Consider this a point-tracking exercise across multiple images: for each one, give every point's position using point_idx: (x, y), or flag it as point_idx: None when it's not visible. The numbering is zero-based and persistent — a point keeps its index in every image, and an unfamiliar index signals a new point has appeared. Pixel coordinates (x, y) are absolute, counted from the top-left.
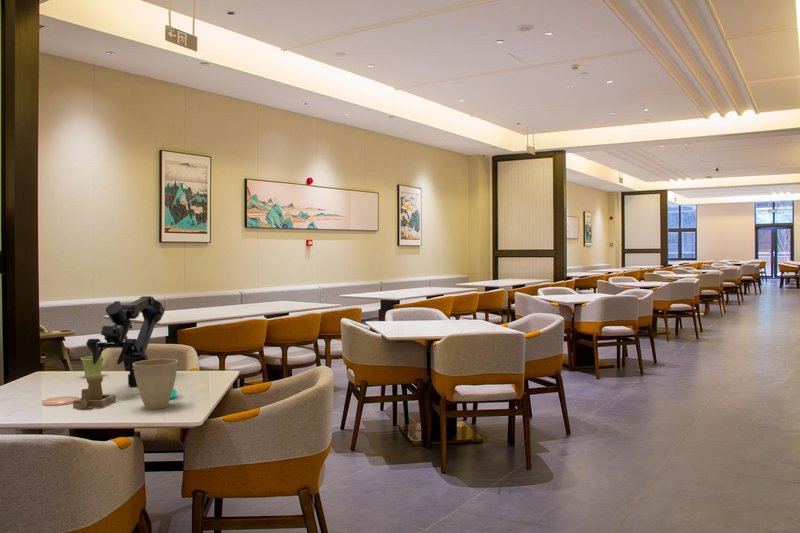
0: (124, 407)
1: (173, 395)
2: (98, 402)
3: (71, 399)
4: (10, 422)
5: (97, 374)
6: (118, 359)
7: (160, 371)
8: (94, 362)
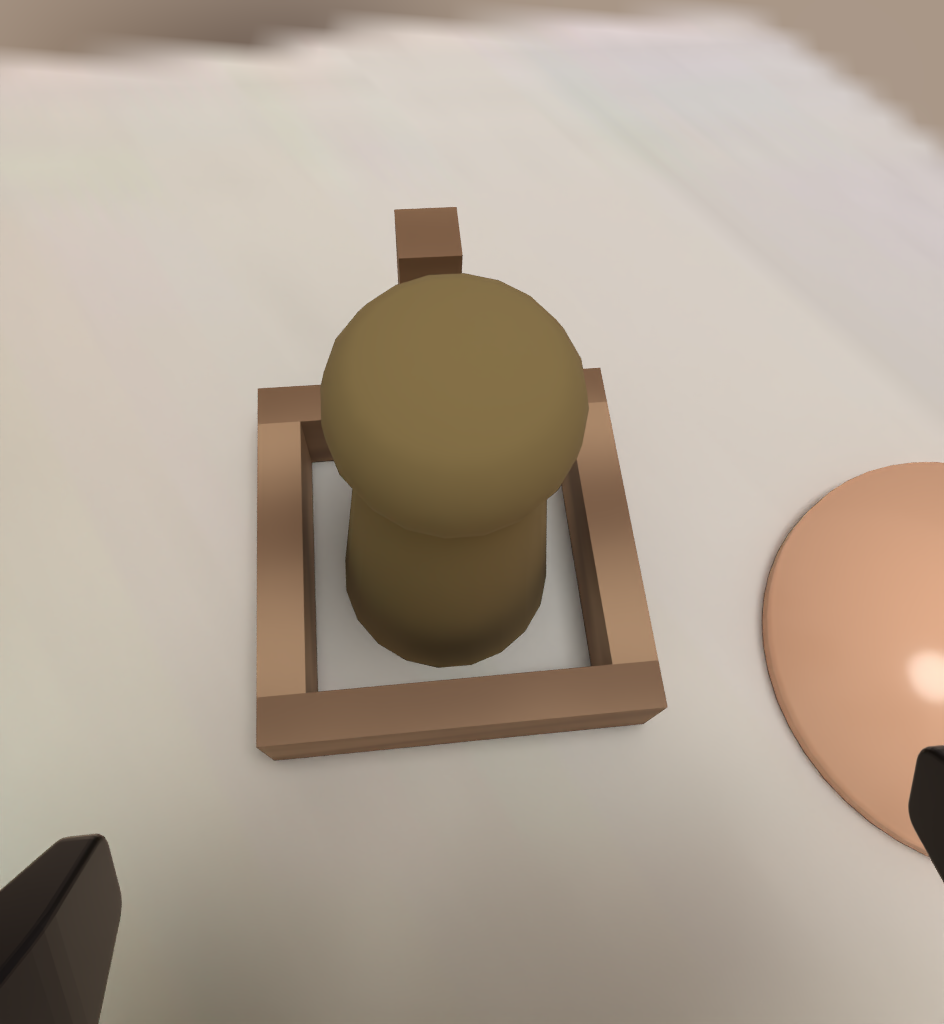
0: (24, 489)
1: None
2: (298, 395)
3: (865, 682)
4: (731, 19)
5: (399, 358)
6: (20, 923)
7: None
8: (940, 790)
